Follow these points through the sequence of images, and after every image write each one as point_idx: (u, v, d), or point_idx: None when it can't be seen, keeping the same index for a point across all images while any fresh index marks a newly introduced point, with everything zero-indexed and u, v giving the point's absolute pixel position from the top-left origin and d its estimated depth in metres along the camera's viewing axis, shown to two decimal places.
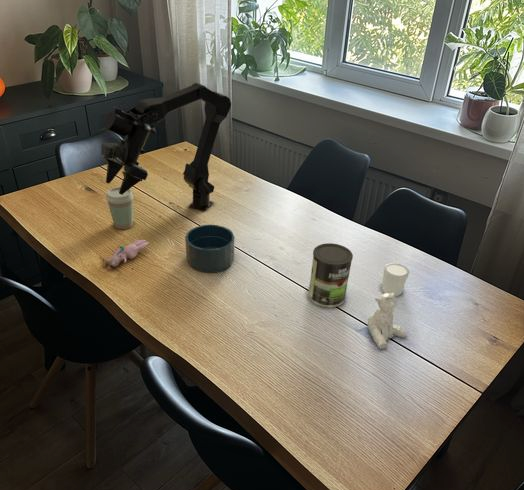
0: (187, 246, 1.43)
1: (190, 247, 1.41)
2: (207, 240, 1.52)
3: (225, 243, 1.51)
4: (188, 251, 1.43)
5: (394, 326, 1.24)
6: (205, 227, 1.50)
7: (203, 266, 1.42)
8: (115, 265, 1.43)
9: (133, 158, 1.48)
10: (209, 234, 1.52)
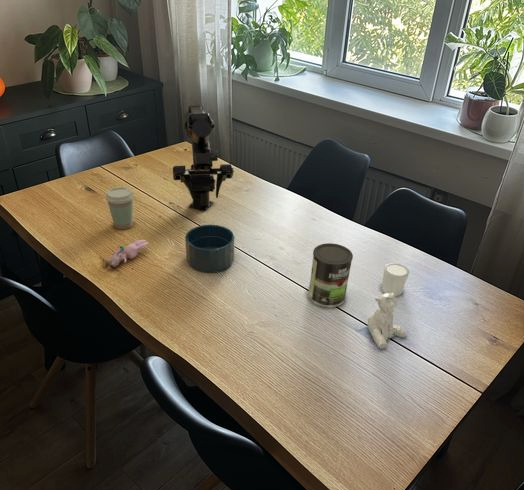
0: (187, 246, 1.43)
1: (190, 247, 1.41)
2: (207, 240, 1.52)
3: (225, 243, 1.51)
4: (188, 251, 1.43)
5: (394, 326, 1.24)
6: (205, 227, 1.50)
7: (203, 266, 1.42)
8: (115, 265, 1.43)
9: None
10: (209, 234, 1.52)
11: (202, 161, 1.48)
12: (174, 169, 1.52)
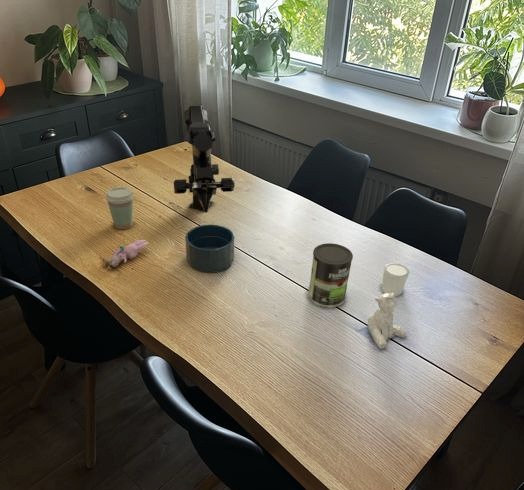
0: (187, 246, 1.43)
1: (190, 247, 1.41)
2: (207, 240, 1.52)
3: (225, 243, 1.51)
4: (188, 251, 1.43)
5: (394, 326, 1.24)
6: (205, 227, 1.50)
7: (203, 266, 1.42)
8: (115, 265, 1.43)
9: None
10: (209, 234, 1.52)
11: (203, 175, 1.48)
12: (175, 183, 1.52)
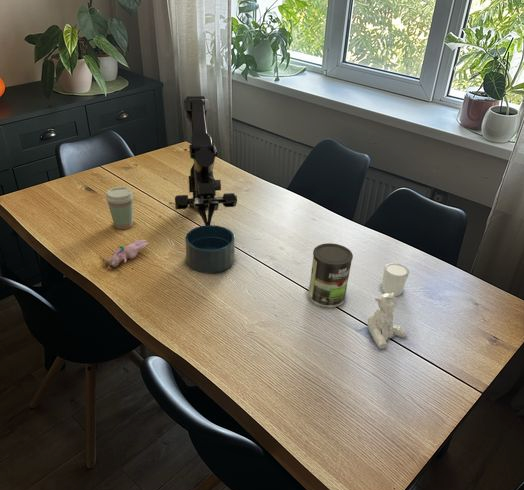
0: (187, 247, 1.42)
1: (190, 248, 1.41)
2: (207, 240, 1.52)
3: (225, 244, 1.51)
4: (188, 252, 1.43)
5: (394, 326, 1.24)
6: (205, 228, 1.50)
7: (203, 267, 1.42)
8: (115, 265, 1.43)
9: None
10: (209, 235, 1.51)
11: (205, 191, 1.45)
12: (176, 199, 1.48)
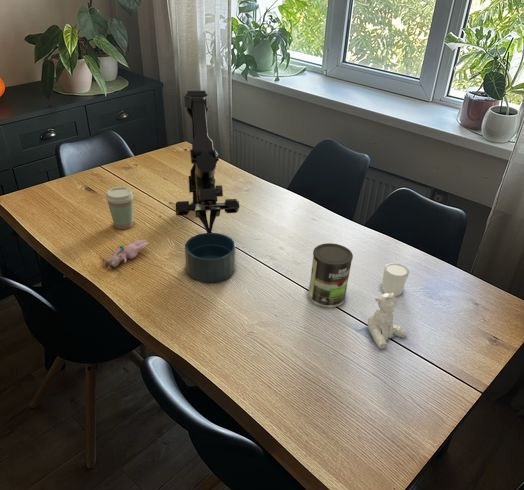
0: (186, 254, 1.39)
1: (189, 256, 1.37)
2: (209, 248, 1.49)
3: (227, 252, 1.47)
4: (187, 259, 1.39)
5: (394, 326, 1.24)
6: (207, 235, 1.46)
7: (201, 276, 1.39)
8: (115, 265, 1.43)
9: None
10: (211, 242, 1.48)
11: (206, 197, 1.41)
12: (177, 205, 1.44)
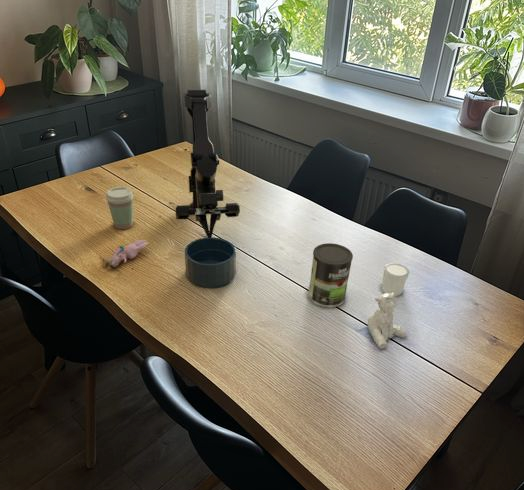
0: (186, 259, 1.37)
1: (188, 260, 1.36)
2: (210, 253, 1.46)
3: (227, 257, 1.45)
4: (186, 264, 1.38)
5: (394, 326, 1.24)
6: (207, 240, 1.44)
7: (201, 281, 1.36)
8: (115, 265, 1.43)
9: None
10: (212, 247, 1.46)
11: (207, 202, 1.40)
12: (177, 209, 1.44)
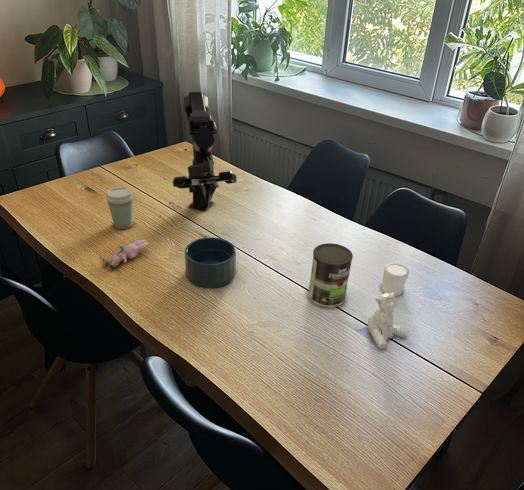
0: (186, 259, 1.37)
1: (188, 260, 1.36)
2: (210, 253, 1.46)
3: (227, 257, 1.45)
4: (186, 264, 1.38)
5: (394, 326, 1.24)
6: (207, 240, 1.44)
7: (201, 281, 1.36)
8: (115, 265, 1.43)
9: None
10: (212, 247, 1.46)
11: (194, 175, 1.44)
12: (173, 181, 1.51)
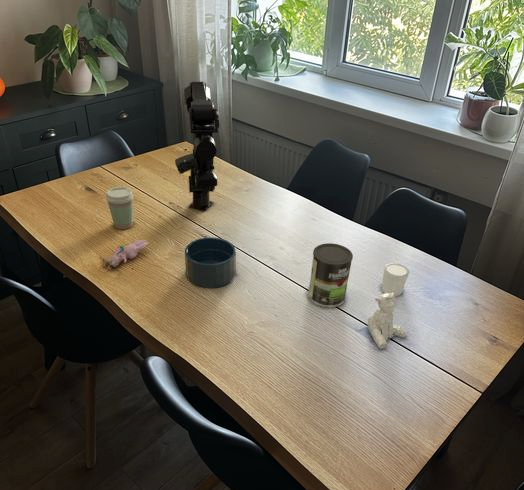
0: (186, 259, 1.37)
1: (188, 260, 1.36)
2: (210, 253, 1.46)
3: (227, 257, 1.45)
4: (186, 264, 1.38)
5: (394, 326, 1.24)
6: (207, 240, 1.44)
7: (201, 281, 1.36)
8: (115, 265, 1.43)
9: (205, 165, 1.47)
10: (212, 247, 1.46)
11: None
12: None
